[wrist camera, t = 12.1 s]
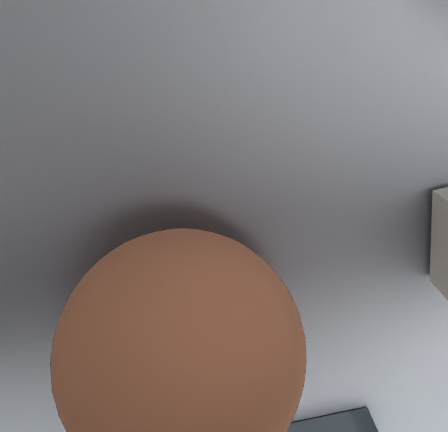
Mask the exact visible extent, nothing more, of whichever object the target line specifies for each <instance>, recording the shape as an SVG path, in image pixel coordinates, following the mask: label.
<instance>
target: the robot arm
mask: <svg viewBox="0 0 448 432" xmlns="http://www.w3.org/2000/svg"><path fill="white" fill-rule="evenodd" d="M430 281H431V282H432V284H433V285H434V286H435V287H436V288H437V289H438V290H439V291H440V292H441V293H442V294H443V295H444V297H445V298H446V299H447V300H448V187H445V188H441V189H436V190H432V222H431V255H430Z"/></svg>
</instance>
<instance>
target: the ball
mask: <svg viewBox="0 0 448 432" xmlns="http://www.w3.org/2000/svg"><path fill="white" fill-rule="evenodd" d="M50 368H51V382H52V392H53V396H54V400H55V403H56V407H57V411H58V415H59V417H60V419H61V421H62V424H63V426H64V428H65V430H66V432H286V431H287V429H288V427H289V425H290V423H291V421H292V419H293V417H294V415H295V413H296V411H297V408H298V405H299V401H300V398H301V394H302V391H303V387H304V381H305V372H306V345H305V335H304V331H303V327H302V323H301V319H300V315H299V312H298V310H297V307H296V305H295V303H294V300H293V298H292V296H291V294H290V292H289V290H288V289H287V287H286V286H285V284H284V283H283V281H282V280H281V278H280V277H279V276H278V275H277V273H276V272H275V271H274V270H273V269H272V268H271V266H270V265H269V264H268V263H267V262H266V261H264V260H263V259H262V258H261V257H260V256H259V255H257V254H256V253H255V252H253V251H252V250H251V249H249V248H247V247H246V246H244V245H243V244H241V243H239V242H237V241H235V240H233V239H231V238H229V237H226V236H223V235H220V234H216V233H213V232H209V231H204V230H199V229H186V228H184V229H168V230H162V231H156V232H153V233H149V234H146V235H142V236H139V237H137V238H134V239H132V240H129V241H127V242H125V243H124V244H122V245H120V246H118V247H117V248H115V249H114V250H112V251H111V252H109V253H108V254H107V255H105V256H104V257H103V258H102V259H100V260H99V261H98V262H97V263H96V264H95V265H94V266H93V267H92V268H91V269H90V270H89V271H88V272H87V273H86V274H85V275H84V276H83V278H82V279H81V280H80V281H79V283H78V284H77V286H76V287H75V288H74V290H73V291H72V293H71V295H70V297H69V299H68V300H67V302H66V304H65V306H64V308H63V310H62V312H61V315H60V318H59V321H58V325H57V328H56V331H55V334H54V338H53V345H52V354H51V363H50Z"/></svg>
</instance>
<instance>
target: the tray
mask: <svg viewBox="0 0 448 432" xmlns="http://www.w3.org/2000/svg"><path fill="white" fill-rule="evenodd" d="M286 432H378V430H377V428H376V426H375V423H374V421H373V419H372V417H371V415H370V412H369V410H368V408H362V409H357V410H352V411H348V412H343V413H338V414H333V415H328V416H323V417H319V418H314V419H309V420H304V421H299V422H294V423H290V425H289V427H288V429H287V431H286Z"/></svg>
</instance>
